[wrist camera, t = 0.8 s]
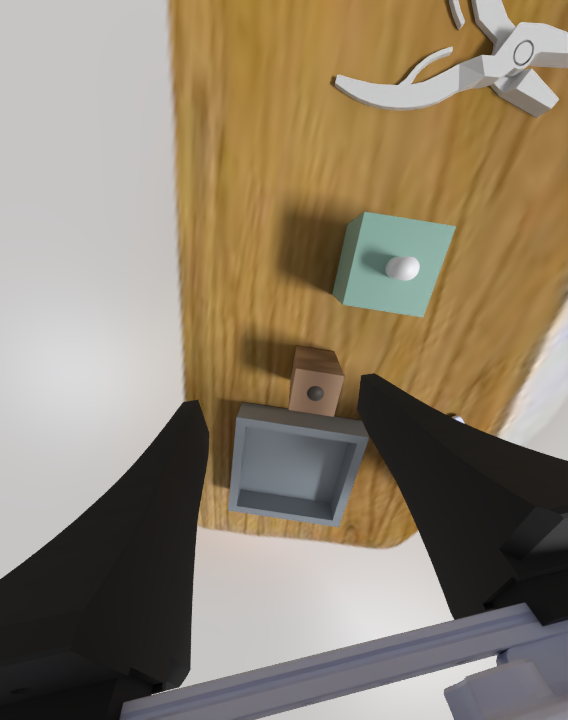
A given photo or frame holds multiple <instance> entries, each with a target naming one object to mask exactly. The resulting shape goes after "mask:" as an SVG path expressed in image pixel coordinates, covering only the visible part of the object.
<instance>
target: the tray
mask: <svg viewBox="0 0 568 720" xmlns="http://www.w3.org/2000/svg"><path fill="white" fill-rule="evenodd" d="M368 440H369V436H368V433H367V431H366V429H365V426H364V424H363V422H362V420H356V419H349V418H343V417H336V416H334V417H331V416H325V415H318V414H312V413H305V412H299V411H293V410H289V409H284V408H278V407H271V406H265V405H258V404H252V403H246V402H242V404H241V407H240V410H239V412H238V415H237V417H236V428H235V439H234V450H233V461H232V472H231V484H230V495H229V506H228V511H235V512H241V513H248V514H255V515H261V516H268V517H274V518H281V519H288V520H294V521H301V522H308V523H314V524H321V525H328V526H334V527H339V525H340V522H341V519H342V516H343V513H344V510H345V507H346V504H347V501H348V498H349V496H350V493H351V490H352V487H353V484H354V481H355V478H356V475H357V472H358V469H359V466H360V463H361V460H362V457H363V455H364V452H365V449H366V446H367V443H368Z"/></svg>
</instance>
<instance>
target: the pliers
mask: <svg viewBox="0 0 568 720" xmlns="http://www.w3.org/2000/svg"><path fill="white" fill-rule="evenodd" d="M471 2H472V7H473V12H474V17H475V22H476V25H477V26H478V27H479V28H480V29H481V30H482V31H483V32H484V34H485V35H486V36H487V37H488V38H489V39H490V40H491V41H492V42H493V44H494V46H493V50H492V54H491V55H480V56H478V57H475V58H473V59H470V60H468V61H465V62H463V63H460V64H458V65H456V66H454V67H452V68H451V69H449V70H447V71H445V72H443V73H441V74H439V75H437V76H435V77H433V78H431V79H429V80H427V81H425V82H421V83H416V84H411V83H412V82H413V80H414V78H415V77H416V75H417V74H418V73H419V72H420V71H421V70H422V69H423V68H424V67H426V66H427V65H428V64H430V63H432V62H434V61H436V60H438V59H440V58H443V57H446V56H449V55H450V54H451V53H452V50H453V46H452V47H449V48H446V49H443V50H440V51H438V52H436V53H434V54H432V55H429V56H428V57H427V58H425V59H424V60H423V61H422V62H421V63H419V64H418V65H417V66H416V67H415V68H414V69H413V71H412V72H411V73H410V74H409V75H408V77H407V78H406V79H405V80H404V81H402V82H401V83H400V84H399V85H384V84H374V83H369V82H364V81H360V80H356V79H351V78H348V77H345V76H342V75H337V78H336V82H335V87H336V88H338V89H339V90H340V91H342V92H343V93H345V94H346V95H348V96H349V97H351V98H353V99H354V100H356V101H358V102H361V103H363V104H366V105H368V106H372V107H375V108H379V109H385V110H414V109H422V108H425V107H428V106H432V105H435V104H437V103H439V102H441V101H443V100H444V99H446V98H448V97H450V96H451V95H453V94H455V93H458V92H461V91H465V90H468V89H471V88H478V89H479V88H482V87H485V86H490V87H491V88H492V89H493V90H494V91H495V92H496V93H497V94H498V95H499V97H501V98H503V99H505V100H506V101H508V102H510V103H512V104H513V105H515V106H517V107H519V108H520V109H522V110H524V111H526V112H527V113H529V114H531V115H533V116H534V117H536V118H537V117H538V116H540V115H542V114H543V113H545V112H547V111H548V110H550V109H551V108H552V107H553V106H554V105H555V104H556V102H557V101H558V100H559V98H558V97H557V96H556V95H555V94H554V93H553V92H552V91H551V89H550V88H549V87H548V86H547V85H546V84H545V83H544V82H543V80H542V79H541V78H540V77H539V76H538V75H537V74H536V73H535V71H534V70H533V69H532V68H531V69H527V70H523V69H524V68H525V67H527V66H539V67H555V68H568V32H565V31H562V30H560V29H557V28H555V27H552V26H550V25H547V24H541V23H525V22H520V23H519V24H518V25H517V26H515V25H514V24H513V23H512V22H511V21H510V20H509V19H508V17H507V14H506V11H505V9H504V6H503V3H502V0H471ZM449 5H450V8H451V12H452V16H453V19H454V21H455V24H456V26H457V28H458V30H459V29H460V28H461V27H462V26H463V24H464V23H465V20H464V18H463V15H462V12H461V10H460V6H459V1H458V0H449ZM522 70H523V71H522Z"/></svg>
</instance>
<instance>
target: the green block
mask: <svg viewBox="0 0 568 720" xmlns="http://www.w3.org/2000/svg"><path fill="white" fill-rule="evenodd" d="M455 228H456V226H450V225H444V224H438V223H432V222H426V221H419V220H413V219H407V218H401V217H395V216H388V215H382V214H376V213H370V212H363V213H362V214H361V215H359V216H358V217H357V218H355V219H354V220H353V221H351V222H350V223H349V224H347V228H346V233H345V238H344V242H343V247H342V252H341V256H340V261H339V266H338V270H337V275H336V279H335V284H334V289H333V293H332V295H333V296H334V297H335V298H336V299H337V300H338V301H339V302H341V303H342V304H343V305H348V306H354V307H361V308H367V309H373V310H380V311H386V312H392V313H399V314H405V315H411V316H418V317H423V316H424V313H425V311H426V308H427V305H428V302H429V300H430V297H431V294H432V291H433V289H434V286H435V283H436V280H437V277H438V275H439V272H440V269H441V266H442V264H443V261H444V258H445V255H446V253H447V250H448V247H449V244H450V242H451V239H452V236H453V233H454V230H455Z"/></svg>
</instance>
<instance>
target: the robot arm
mask: <svg viewBox="0 0 568 720" xmlns="http://www.w3.org/2000/svg"><path fill="white" fill-rule="evenodd" d="M357 410H358V412H359V415H360V417H361V419H362V422H363V424H364V426H365V429H366V430H367V432H368V434H369V436H370V437H371V439H372V441H373V443H374V444H375V446H376V448H377V449H378V451H379V453H380V454H381V456H382V458H383V459H384V461H385V463H386V464H387V466H388V468H389V470H390V471H391V473H392V475H393V477H394V478H395V480H396V482H397V484H398V486H399V488H400V490H401V493H402V495H403V497H404V499H405V501H406V503H407V505H408V508H409V510H410V512H411V514H412V517H413V519H414V521H415V523H416V526H417V528H418V530H419V533H420V535H421V537H422V540H423V542H424V544H425V547H426V549H427V552H428V554H429V557H430V559H431V561H432V564H433V567H434V569H435V572H436V575H437V577H438V580H439V582H440V585H441V587H442V590H443V593H444V595H445V598H446V601H447V604H448V606H449V609H450V612H451V614H452V616H453V618H454V620H452V621H449V622H445V623H441V624H436V625H433V626H428V627H424V628H421V629H416V630H412V631H409V632H404V633H401V634H396V635H392V636H388V637H384V638H381V639H377V640H372V641H368V642H364V643H360V644H356V645H352V646H348V647H344V648H340V649H336V650H332V651H328V652H324V653H320V654H316V655H312V656H308V657H304V658H300V659H296V660H292V661H288V662H284V663H280V664H276V665H272V666H268V667H264V668H260V669H256V670H252V671H248V672H244V673H240V674H236V675H232V676H228V677H224V678H220V679H216V680H212V681H208V682H203V683H200V684H195V685H192V686H187V687H183V688H179V689H175V690H172V691H167V692H163V691H166V690H170V689H174V688H177V687H180V685H181V684H182V682H183V681H184V680H185V678H186V677H187V675H188V673H189V671H190V658H191V619H192V595H193V574H194V560H195V559H194V558H195V545H196V532H197V521H198V513H199V507H200V501H201V495H202V490H203V484H204V478H205V472H206V467H207V461H208V452H209V431H208V428H207V425H206V422H205V419H204V416H203V413H202V410H201V407H200V404H199V401H198V400H194V401H187V402H183V403H182V404H181V406H180V407H179V408H178V410H177V411H176V412H175V414H174V415H173V416H172V418H171V419H170V421H169V422H168V423H167V424H166V426H165V427H164V428H163V429H162V431H161V432H160V433H159V435H158V436H157V437H156V438H155V440H154V441H153V442H152V443H151V445H150V446H149V447H148V448H147V449H146V450H145V452H144V453H143V454H142V455H141V456H140V457H139V459H138V460H137V461H136V462H135V463H134V464H133V465H132V467H131V468H130V469H129V470H128V471H127V472H126V473H125V474H124V475H123V476H122V477H121V478H120V479H119V480H118V481H117V482H116V483H115V484H114V485H113V486H112V487H111V488H110V489H109V490H108V491H107V492H106V493H105V494H104V495H103V496H102V497H100V498H99V499H98V500H97V501H96V502H95V503H94V504H93V505H92V506H91V507H89V508H88V509H87V510H86V511H85V512H84V513H83V514H82V515H81V516H79V517H78V519H76V520H75V521H74V522H73V523H71V524H70V525H69V526H68V527H67V528H65V529H64V530H63V531H62V532H61V533H59V534H58V535H57V536H56V537H55V538H54V539H52V540H51V541H50V542H48V543H47V544H46V545H45V546H44V547H42V548H41V549H40V550H38V551H37V552H36V553H35V554H33V555H32V556H31V557H29V558H28V559H27V560H26V561H24V562H23V563H22V564H20V565H19V566H18V567H16V568H15V569H14V570H12V571H11V572H10V573H8V574H7V575H6V576H4V577H3V578H1V579H0V720H255V719H259V718H262V717H266V716H270V715H274V714H277V713H281V712H285V711H289V710H292V709H296V708H300V707H303V706H307V705H311V704H315V703H319V702H322V701H326V700H330V699H334V698H337V697H341V696H345V695H348V694H352V693H356V692H359V691H364V690H367V689H371V688H375V687H379V686H382V685H386V684H390V683H393V682H397V681H401V680H405V679H408V678H412V677H416V676H419V675H424V674H427V673H431V672H435V671H438V670H442V669H446V668H450V667H453V666H457V665H461V664H465V663H468V662H472V661H476V660H480V659H483V658H487V657H490V656H495V655H498V656H497V660H496V662H497V667H494V668H491V669H488V670H485V671H482V672H479V673H475V674H473V675H470V676H467V677H466V678H465V679H464V680H463V681H461V682H459V683H457V684H455V685H453V686H450V687H448V688H446V689H444V696H445V698H446V700H447V703H448V705H449V707H450V710H451V712H452V715H453V717H454V720H568V461H566V460H562V459H559V458H555V457H552V456H549V455H546V454H543V453H540V452H537V451H534V450H531V449H528V448H525V447H522V446H519V445H516V444H514V443H511V442H508V441H505V440H503V439H500V438H498V437H495V436H493V435H490V434H487V433H485V432H483V431H480V430H478V429H475V428H473V427H471V426H469V425H467V424H465V423H464V421H463V419H462V418H461V417H460V416H458V415H457V416H453V417H449V416H447V415H445V414H443V413H441V412H440V411H438V410H436V409H434V408H432V407H430V406H428V405H427V404H425V403H423V402H421V401H419V400H418V399H416V398H414V397H413V396H411V395H409V394H408V393H406V392H404V391H403V390H401V389H399V388H398V387H396V386H395V385H393V384H391V383H390V382H388V381H386V380H385V379H383V378H381V377H380V376H378V375H376V374H374V373H373V374H367V375H361V382H360V390H359V399H358V408H357ZM159 692H163V693H159ZM155 693H159V694H156V695H151V694H155Z"/></svg>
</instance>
